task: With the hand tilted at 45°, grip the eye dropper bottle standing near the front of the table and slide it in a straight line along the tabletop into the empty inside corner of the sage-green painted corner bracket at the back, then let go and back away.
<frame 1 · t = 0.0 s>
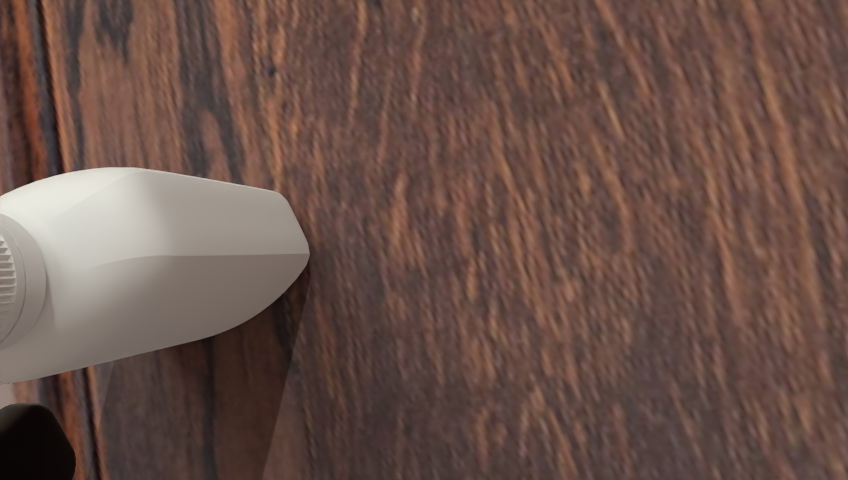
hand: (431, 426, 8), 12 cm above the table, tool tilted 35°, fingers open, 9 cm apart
eye dropper bottle: (224, 267, 22), on the table
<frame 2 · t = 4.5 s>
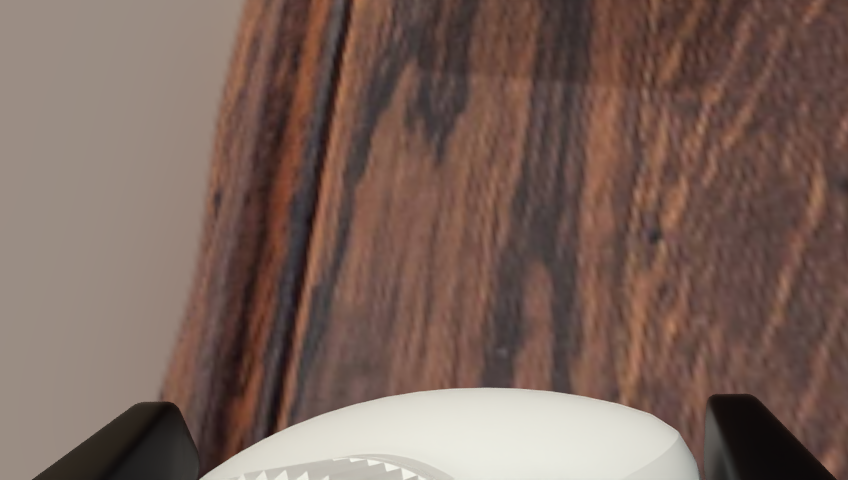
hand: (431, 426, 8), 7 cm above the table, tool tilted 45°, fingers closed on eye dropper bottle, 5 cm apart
when the fingers open (7 cm above the table, at t = 11.7 s): eye dropper bottle stays where it is, on the table.
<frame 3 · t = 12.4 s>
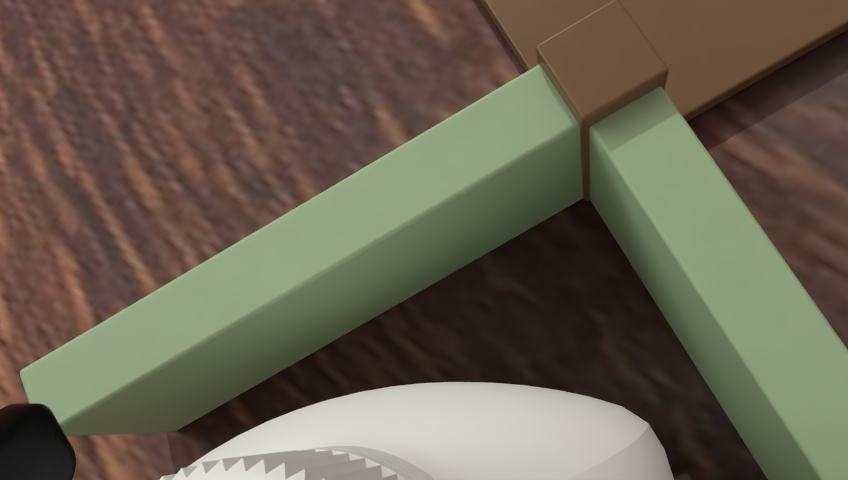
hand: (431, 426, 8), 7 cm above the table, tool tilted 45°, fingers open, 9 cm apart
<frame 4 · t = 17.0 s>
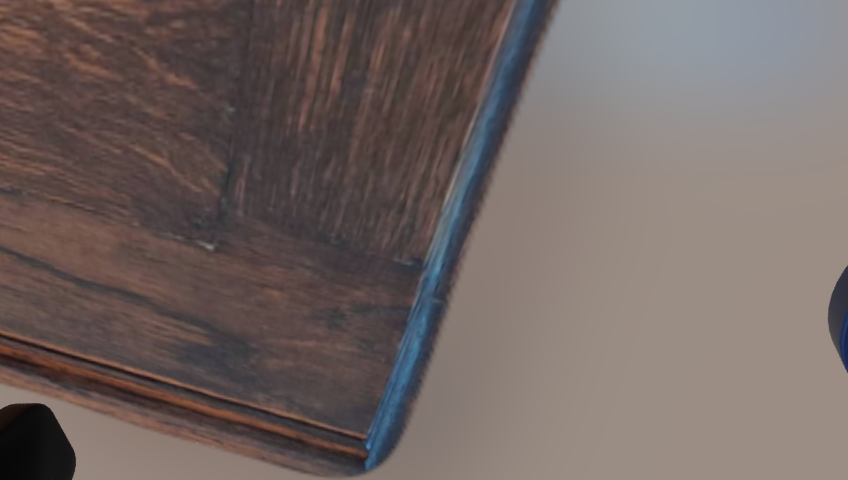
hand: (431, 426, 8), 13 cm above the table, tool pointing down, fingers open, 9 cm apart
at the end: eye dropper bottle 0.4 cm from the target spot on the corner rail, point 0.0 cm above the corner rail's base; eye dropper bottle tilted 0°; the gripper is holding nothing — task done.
